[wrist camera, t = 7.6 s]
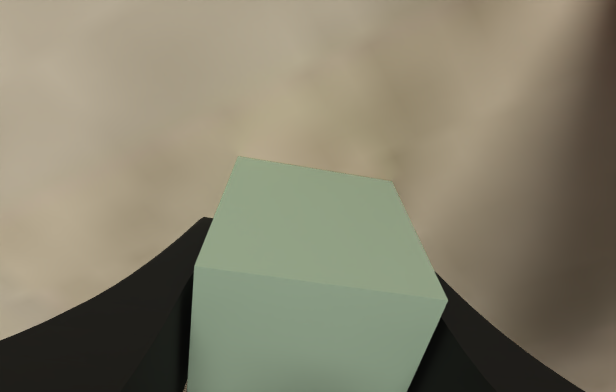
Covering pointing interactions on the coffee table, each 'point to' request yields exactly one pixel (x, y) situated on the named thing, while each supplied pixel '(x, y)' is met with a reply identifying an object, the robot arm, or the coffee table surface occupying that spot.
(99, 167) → the coffee table surface
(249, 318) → the sage block
